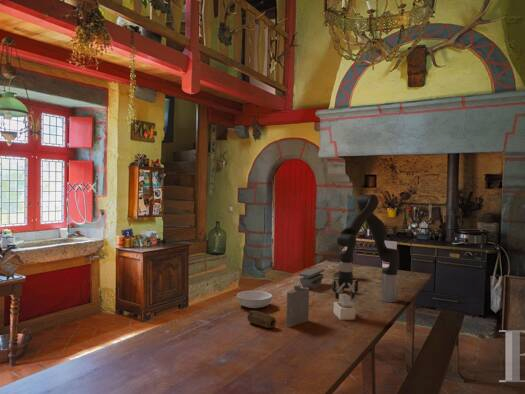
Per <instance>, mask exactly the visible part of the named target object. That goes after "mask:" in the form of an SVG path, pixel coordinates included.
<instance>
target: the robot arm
mask: <svg viewBox="0 0 525 394" xmlns="http://www.w3.org/2000/svg"><path fill="white" fill-rule="evenodd" d="M356 202H357V207H358V209H359V210H360V212H358V213H357V214H356V215H355V216H353V217H352V218H351V220H350V221H349V222H348V224H347V226H346V227H344V229H343V230H342V231H340V232H339V234H338V235H337V237H336V244H337V245H338V246H341V247H345V248H346V250H342V251H340V252H339V255H340V259H339V261H338V262H339V263H338V267H339V270H338V272H339V276H338V281H335V280H333V282H332V284H331V285H332V286H331V291H333V292H334V295H335V297H334V298H335V299H336V300H340V293H339V291H340V290H341V289H342V288H343V289H344V290H345V289H349V290H350V291H351V292H350V300H354V299H355V294H356V292H358V291H359V281H358V280H357V279H353V278H352V275H353V270H354V269H353V255H354V251H355V247H356V245H357V237H356V236H357V235H358V234H359V232H360V231H361V229H362V227H363V225H364V224H365V223H366V224H367V227H368V229H369V232H370V234H371V236H372V238H373V240H374V243H375V246H376V248H377V249H376V250H377V253H378V256H379V258H380V260H381V262H383V263H388V264H389V265H388V266H387V267H384V268H382V270H381V289H380V301H383V302H385V303H396V302H398V300H399V299H398V295H399V287H398V285H397V284H398V270H399V264H400V263H399V262H400V252H399V250H398V249H396V248H390V247H387V245H386V243H385V240H386V238H387V234H388V230H387V228H386V226H385V223H384V222H383V220H382V219H380V218H379V217H378V216H377V215H376V214H375V213H374V212H375V211H376V209H377V207H378V206H379V197H378V196H377V195H376V194H359V195H358V197H357V201H356ZM337 283H338V284H339V285H338V286H337V288H336V284H337ZM352 285H354V287H353V286H352Z"/></svg>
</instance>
